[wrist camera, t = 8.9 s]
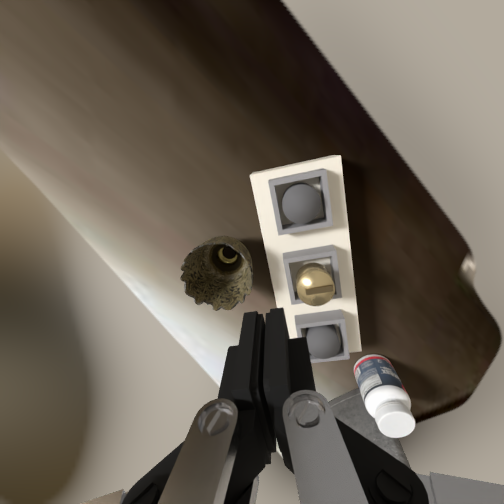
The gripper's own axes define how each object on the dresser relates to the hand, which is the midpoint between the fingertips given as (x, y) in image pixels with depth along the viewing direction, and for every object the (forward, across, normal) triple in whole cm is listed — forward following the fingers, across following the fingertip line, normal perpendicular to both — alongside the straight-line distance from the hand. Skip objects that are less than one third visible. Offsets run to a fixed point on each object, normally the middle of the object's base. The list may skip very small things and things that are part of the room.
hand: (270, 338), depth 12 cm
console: (+23, -3, +7) cm, 24 cm away
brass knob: (+17, -3, +7) cm, 18 cm away
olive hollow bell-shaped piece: (+23, +6, +4) cm, 25 cm away
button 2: (+19, -3, -1) cm, 20 cm away
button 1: (+18, -3, +15) cm, 24 cm away
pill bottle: (+22, -10, +25) cm, 35 cm away
